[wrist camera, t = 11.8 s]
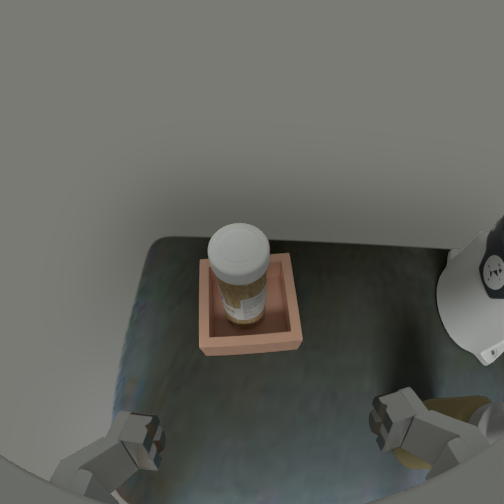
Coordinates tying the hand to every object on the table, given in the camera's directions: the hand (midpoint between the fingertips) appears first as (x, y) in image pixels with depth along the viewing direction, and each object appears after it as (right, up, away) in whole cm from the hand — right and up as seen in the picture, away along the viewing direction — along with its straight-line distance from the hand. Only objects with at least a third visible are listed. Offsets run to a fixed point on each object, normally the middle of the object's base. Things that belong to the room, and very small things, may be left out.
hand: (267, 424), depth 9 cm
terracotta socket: (-1, -1, +23) cm, 23 cm away
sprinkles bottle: (-1, -1, +23) cm, 23 cm away
